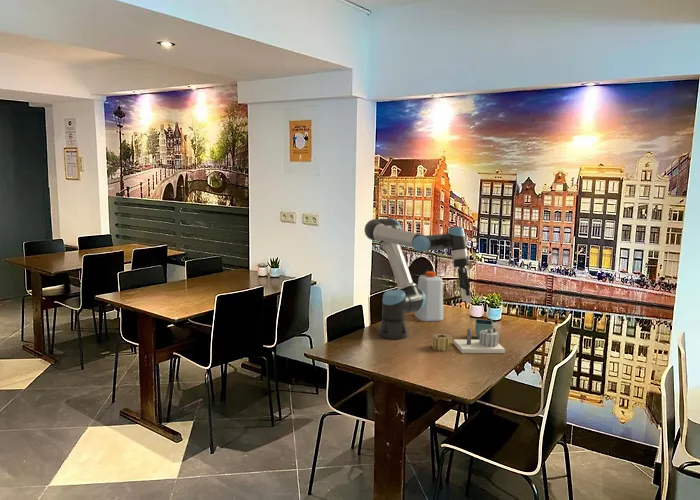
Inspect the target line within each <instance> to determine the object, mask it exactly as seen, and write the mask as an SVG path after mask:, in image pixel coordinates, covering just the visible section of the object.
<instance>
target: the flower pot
mask: <svg viewBox="0 0 700 500" xmlns="http://www.w3.org/2000/svg"><path fill="white" fill-rule="evenodd" d="M474 323H475V324H474V328H475V335H476V339H477V340H479V339H480V331H482V330H487V329H492V330H493V328H494V324H493V320H492V319H491V320H490V319H479V318H476V319H474Z"/></svg>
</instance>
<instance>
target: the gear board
mask: <svg viewBox="0 0 700 500" xmlns="http://www.w3.org/2000/svg"><path fill="white" fill-rule="evenodd" d="M466 333H467V334H466V339H456V338H455V339H453V345H454V346H455V347H456V348H457V349H458V351H459V352H460V353H462V354H505V353H506V348H504V346H502V345H501V344H500V343H499V339H500V333H499V332H498V331H497V328H496V327H492V329H487V330H482V331H480V339H472V328H467V332H466Z"/></svg>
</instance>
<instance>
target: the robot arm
mask: <svg viewBox="0 0 700 500" xmlns="http://www.w3.org/2000/svg"><path fill="white" fill-rule="evenodd" d="M364 234H365V235H364V236H366V237H367V238H368V240H371V241H376V242H379V243H380V245H381V247H383V248H385V249H384V250H385V252H386V256H387V258H388V262H389V264H390V267H391V270H392V274H393V276H394V280H395V282H396V285H397V289H391V290H390V289H389V290H387V291H385V292H384V293H383V294H382V300H381V301H382V303H381V304H382V306H381V307H382V308H381V309H382V310H381V322H380V325H379V327H378V331H377V332H378V333H377V335H378V336H379V337H380V338H383V339H388V340H401V339H406V338H407V337H408V330H407V327H406V323H405V315H406V314H410V313H415V312H416V311H419V310H421V309H422V308H423V307H424V305H425V303H426V296H425V294H424V292H423V291H422V290H420V289H418V283H415V282H414V281H413V278H412V275H411V273H410V272H411V271H410V270H409V267H408V266H409V265H408V263H407V261H406V257H405V254H404V252H403V250H402V247H401V246H403V247H407V248H411V249H414V251H416V252H422V253H424V252H428V251H441V250H447V249H450V250H451V251H450V252H451V259H453V260H452V264H453V267H454V268H457V273H458V274H457V275H458V284H459V285H458V287H459V288H460V295H461V301H462V302H465V304H469V303H473V301H472V295H471V285H470V279H469V276H468V269H467V266H470V262H469V258H468V257H469V255H468V253H469V250H468V249H467V242H466V234H465V229H464V227H463V226H454V227H451V228H449V229H448V232H447V233H440V234H431V235H425V234H419V233H416V232H412V231H407V230H403V229H402V225H401V223H400V222H399V221H398V220H397V219H394V218H390V217H389V218H373V219H370V220H369V221H367V222H366V224H365V225H364Z"/></svg>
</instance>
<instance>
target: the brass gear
mask: <svg viewBox="0 0 700 500" xmlns="http://www.w3.org/2000/svg"><path fill="white" fill-rule="evenodd" d="M431 343H432V345H431V346H432V347H431V348H432V349H433V350H436V351H438V352H440V351H442V352H445V351H447V352H448V351H451V350H452V336H451V335H450V334H446V333H434V334H433V335H432V342H431Z"/></svg>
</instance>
